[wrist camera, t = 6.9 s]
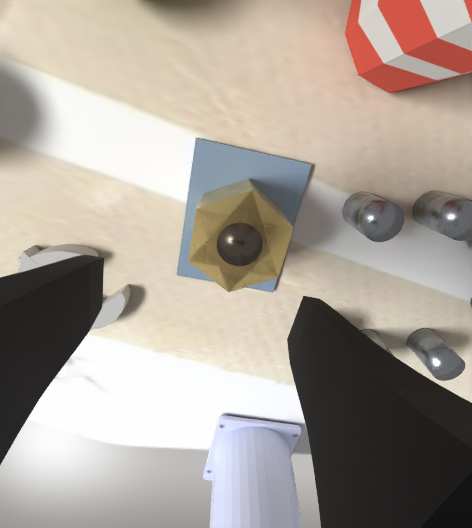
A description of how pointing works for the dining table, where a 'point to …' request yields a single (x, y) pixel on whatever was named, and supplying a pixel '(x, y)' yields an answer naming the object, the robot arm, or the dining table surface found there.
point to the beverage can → (410, 41)
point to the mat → (233, 170)
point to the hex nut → (239, 236)
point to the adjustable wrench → (57, 253)
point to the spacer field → (387, 226)
